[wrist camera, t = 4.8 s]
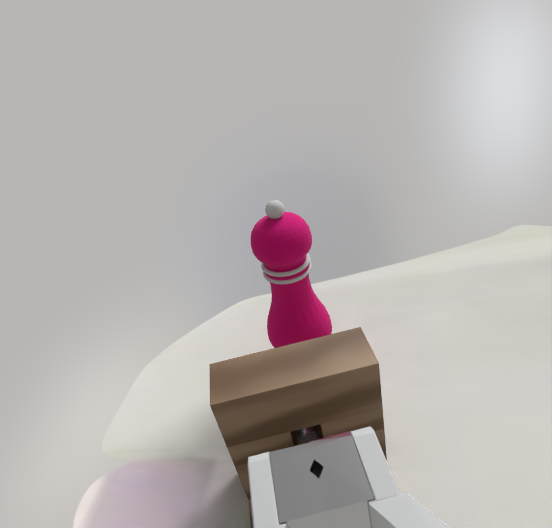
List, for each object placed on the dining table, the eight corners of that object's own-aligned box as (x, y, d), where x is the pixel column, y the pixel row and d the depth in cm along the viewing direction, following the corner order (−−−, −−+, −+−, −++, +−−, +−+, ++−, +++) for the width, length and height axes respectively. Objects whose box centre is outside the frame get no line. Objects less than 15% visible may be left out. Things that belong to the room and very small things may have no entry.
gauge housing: (453, 632, 26) (462, 528, 19) (267, 682, 26) (212, 594, 19) (371, 431, 39) (360, 327, 32) (247, 463, 39) (209, 364, 32)
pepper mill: (348, 351, 48) (327, 192, 38) (306, 390, 45) (270, 226, 34) (304, 327, 53) (275, 181, 43) (262, 360, 50) (220, 209, 39)
